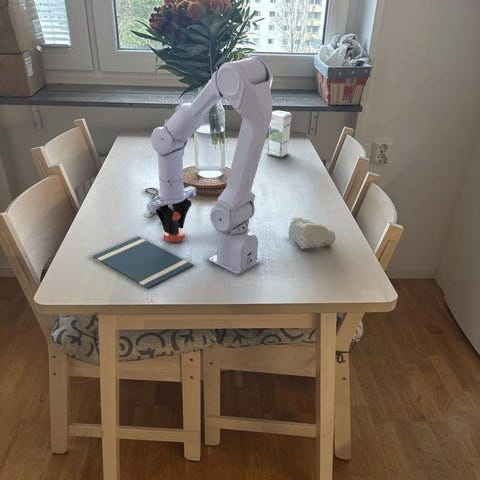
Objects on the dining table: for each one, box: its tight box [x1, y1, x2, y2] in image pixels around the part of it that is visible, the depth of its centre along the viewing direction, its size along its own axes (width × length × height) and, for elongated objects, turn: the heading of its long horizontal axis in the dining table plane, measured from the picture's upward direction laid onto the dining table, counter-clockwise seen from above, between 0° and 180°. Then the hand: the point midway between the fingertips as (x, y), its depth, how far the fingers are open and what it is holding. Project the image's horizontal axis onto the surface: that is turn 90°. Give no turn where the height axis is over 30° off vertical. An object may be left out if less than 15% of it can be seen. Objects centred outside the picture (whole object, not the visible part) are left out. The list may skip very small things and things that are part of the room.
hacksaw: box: [143, 187, 173, 219], centre depth 145 cm, size 24×10×2 cm, turn 179°
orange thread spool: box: [163, 212, 185, 243], centre depth 128 cm, size 5×5×6 cm
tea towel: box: [92, 236, 194, 290], centre depth 120 cm, size 20×14×1 cm
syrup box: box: [267, 110, 292, 158], centre depth 180 cm, size 6×6×14 cm
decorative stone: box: [288, 217, 337, 250], centre depth 128 cm, size 11×9×10 cm
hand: (173, 229), depth 129 cm, fingers closed on orange thread spool, 3 cm apart
